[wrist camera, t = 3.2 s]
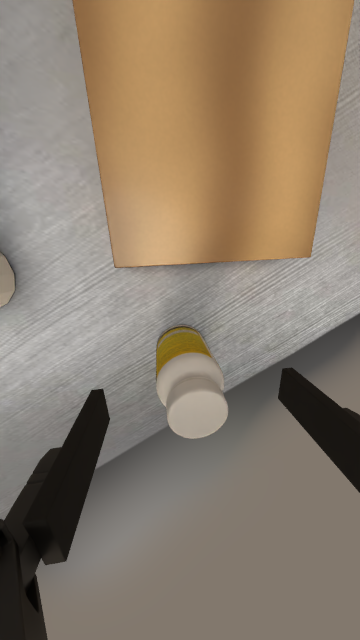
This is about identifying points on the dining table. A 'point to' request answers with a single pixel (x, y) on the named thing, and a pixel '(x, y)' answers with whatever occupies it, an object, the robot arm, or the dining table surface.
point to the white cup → (6, 281)
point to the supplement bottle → (189, 383)
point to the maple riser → (212, 123)
